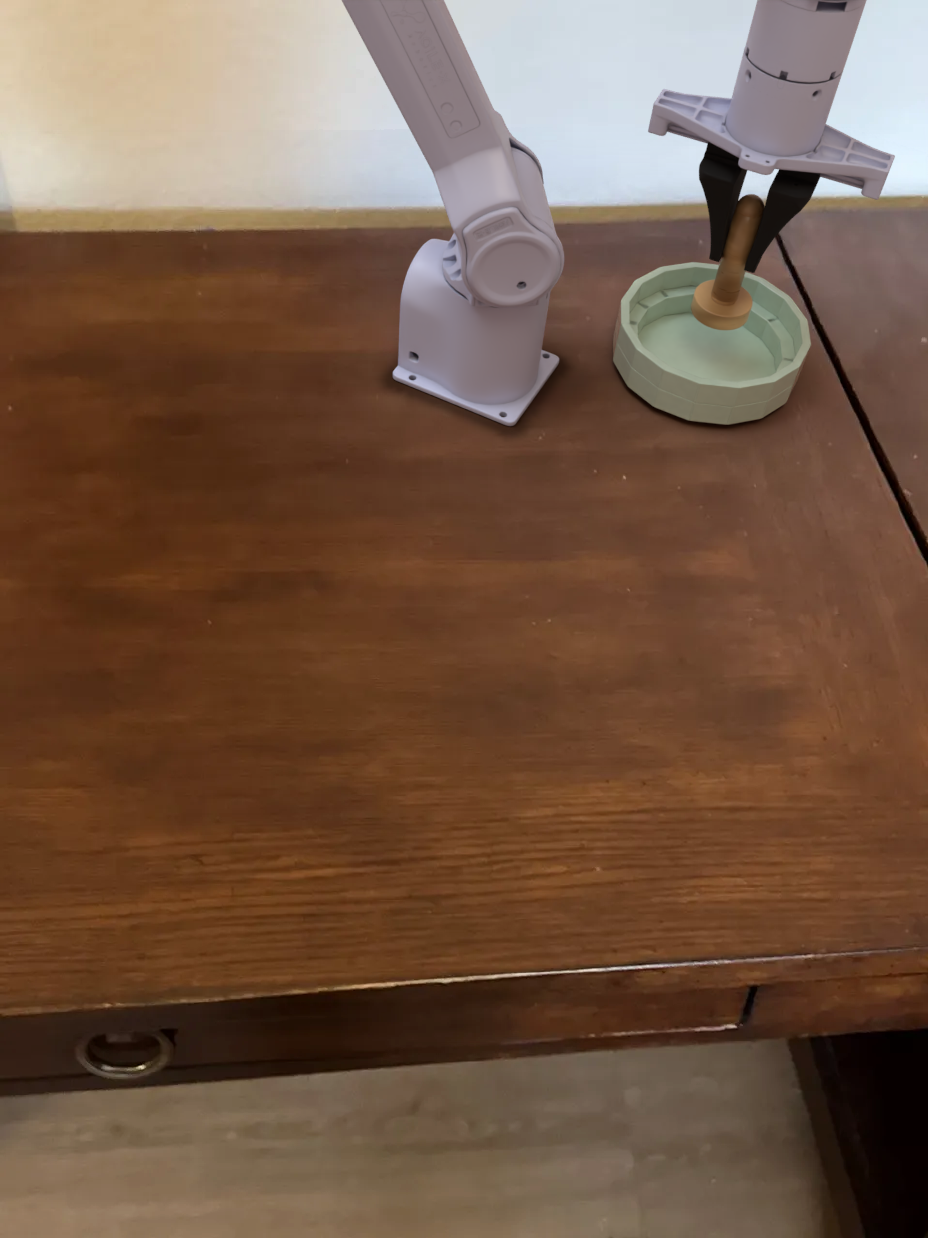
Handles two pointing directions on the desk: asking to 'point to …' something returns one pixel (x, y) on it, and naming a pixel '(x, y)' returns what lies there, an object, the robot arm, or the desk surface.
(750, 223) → the wooden stamp
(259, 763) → the desk surface
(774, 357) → the bowl
